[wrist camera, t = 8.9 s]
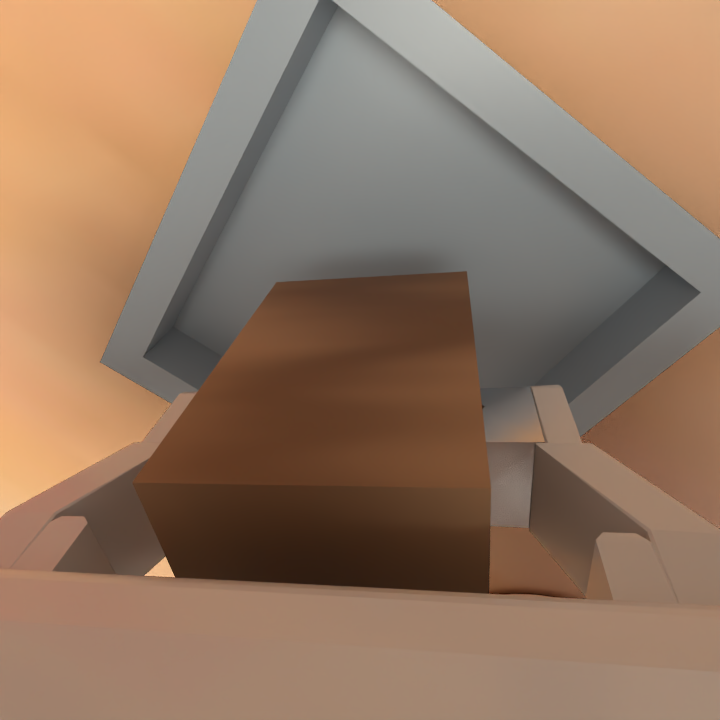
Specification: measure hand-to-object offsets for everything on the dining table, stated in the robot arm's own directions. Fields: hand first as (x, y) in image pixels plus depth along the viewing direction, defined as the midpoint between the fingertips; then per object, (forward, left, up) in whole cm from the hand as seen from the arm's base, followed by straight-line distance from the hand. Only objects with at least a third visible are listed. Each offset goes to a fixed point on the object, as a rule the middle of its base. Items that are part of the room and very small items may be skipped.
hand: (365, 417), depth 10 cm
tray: (0, 0, -6) cm, 6 cm away
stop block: (0, 0, -2) cm, 2 cm away
